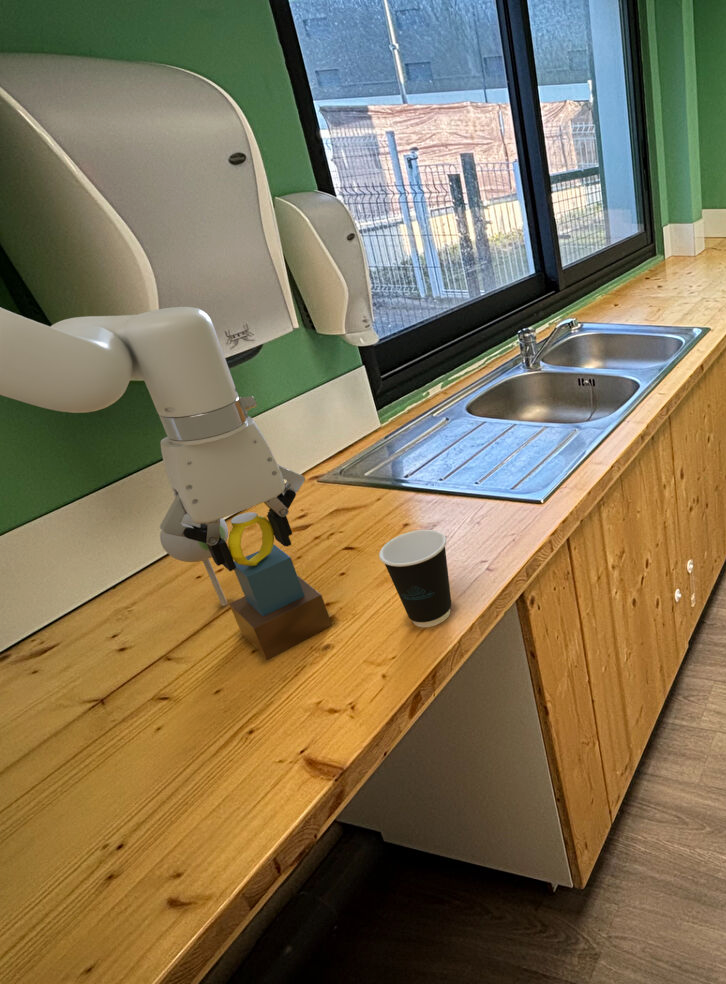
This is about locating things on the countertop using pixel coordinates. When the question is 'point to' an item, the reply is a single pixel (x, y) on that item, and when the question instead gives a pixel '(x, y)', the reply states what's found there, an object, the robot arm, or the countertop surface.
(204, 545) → the lollipop
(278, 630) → the base block
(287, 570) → the top block
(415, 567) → the dixie cup
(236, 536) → the watch
